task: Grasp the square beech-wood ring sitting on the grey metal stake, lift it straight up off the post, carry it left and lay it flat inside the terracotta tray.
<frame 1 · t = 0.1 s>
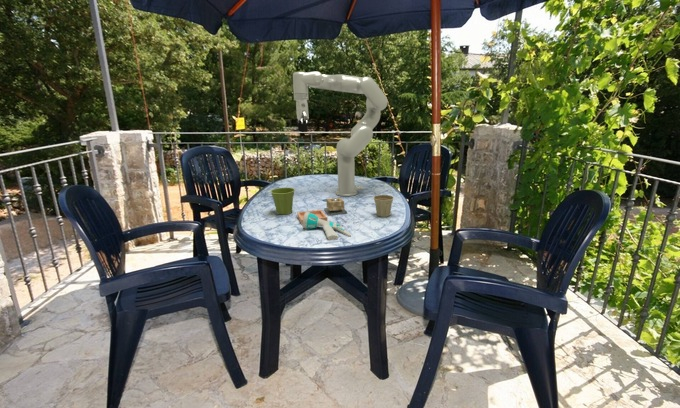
hand: (302, 131, 185), 37 cm above the table, tool pointing down, fingers open, 9 cm apart
terracotta tray: (312, 219, 160), on the table
flower pot: (383, 215, 164), on the table
wooden ring: (335, 207, 169), point 2 cm above the table, touching stake
stake: (335, 211, 170), on the table
plant pot: (284, 213, 170), on the table
garden hose nozzle: (324, 232, 145), on the table
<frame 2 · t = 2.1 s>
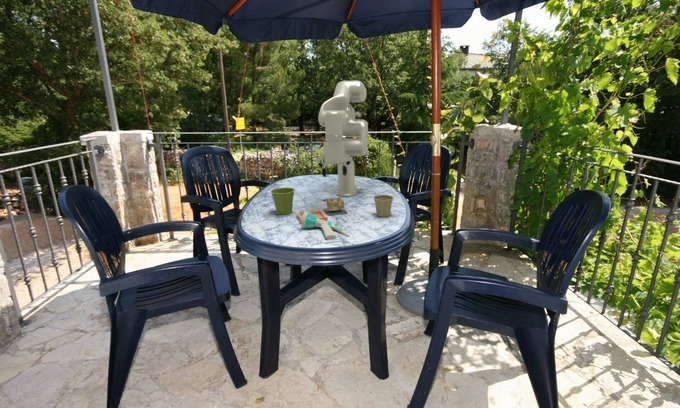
hand: (334, 175, 164), 18 cm above the table, tool pointing down, fingers open, 9 cm apart
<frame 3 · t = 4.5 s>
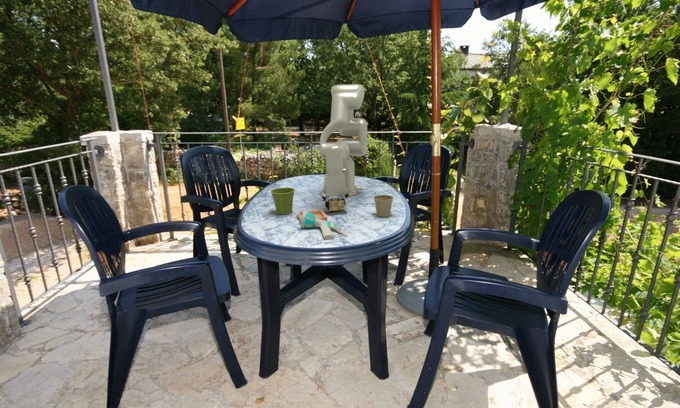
hand: (335, 207, 169), 2 cm above the table, tool pointing down, fingers closed on wooden ring, 7 cm apart
wooden ring: (335, 207, 169), point 2 cm above the table, touching gripper, stake
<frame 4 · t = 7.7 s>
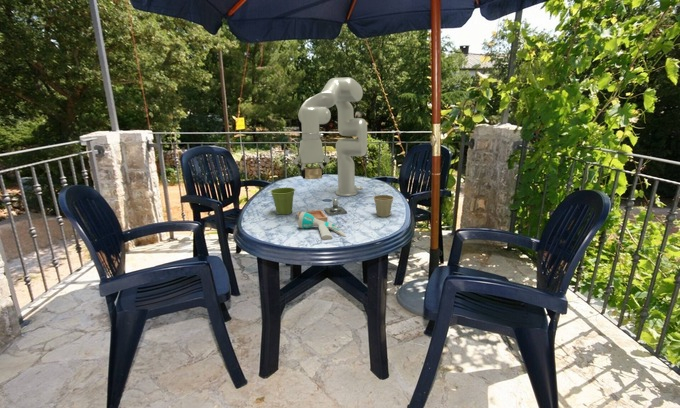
hand: (312, 177, 155), 19 cm above the table, tool pointing down, fingers closed on wooden ring, 7 cm apart
wooden ring: (312, 177, 155), point 19 cm above the table, touching gripper
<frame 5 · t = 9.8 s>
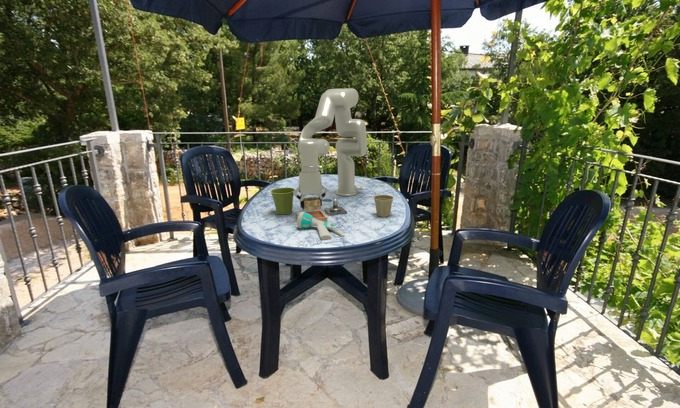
hand: (311, 207, 158), 5 cm above the table, tool pointing down, fingers closed on wooden ring, 7 cm apart
wooden ring: (311, 207, 158), point 5 cm above the table, touching gripper
when the fingers open (3 cm above the table, at t = 11.3 s): wooden ring drops 2 cm, resting on terracotta tray.
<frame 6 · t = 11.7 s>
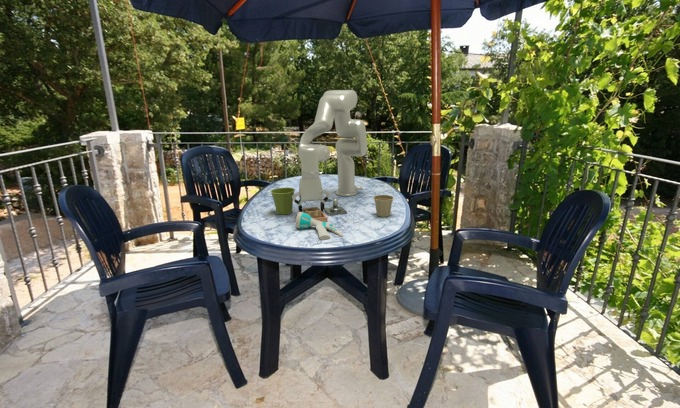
hand: (311, 212, 159), 3 cm above the table, tool pointing down, fingers open, 9 cm apart
wooden ring: (312, 217, 160), point 1 cm above the table, touching terracotta tray
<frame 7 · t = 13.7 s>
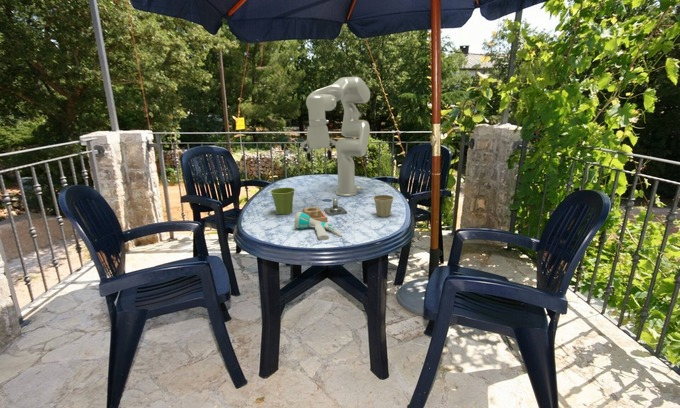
hand: (319, 160, 166), 25 cm above the table, tool pointing down, fingers open, 9 cm apart
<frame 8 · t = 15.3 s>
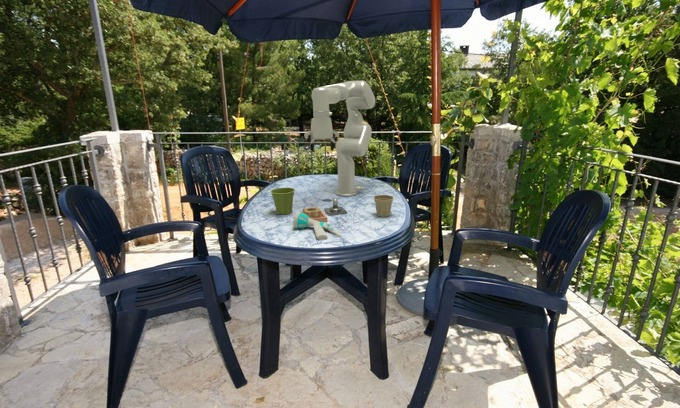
hand: (322, 151, 171), 28 cm above the table, tool pointing down, fingers open, 9 cm apart
at the end: wooden ring inside the target area on the terracotta tray (0.1 cm from its centre), point 0.6 cm above the terracotta tray's base; wooden ring tilted 0°; the gripper is holding nothing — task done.
